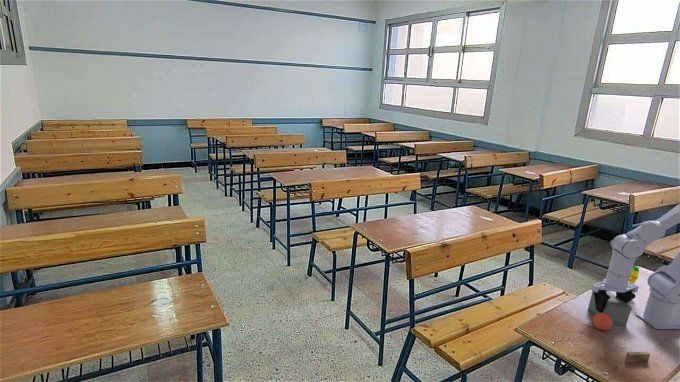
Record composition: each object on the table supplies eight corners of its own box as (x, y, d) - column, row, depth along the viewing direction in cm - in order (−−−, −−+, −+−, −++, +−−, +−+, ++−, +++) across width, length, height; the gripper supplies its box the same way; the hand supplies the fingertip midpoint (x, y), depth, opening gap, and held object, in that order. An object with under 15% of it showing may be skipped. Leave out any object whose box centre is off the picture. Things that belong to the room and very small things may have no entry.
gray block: (604, 308, 128) (609, 291, 126) (626, 325, 119) (631, 307, 117) (587, 308, 127) (592, 291, 125) (608, 325, 118) (614, 307, 117)
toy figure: (627, 302, 132) (636, 271, 129) (616, 297, 135) (624, 266, 132) (636, 297, 136) (645, 267, 132) (625, 293, 139) (634, 263, 135)
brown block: (644, 359, 104) (647, 351, 103) (647, 362, 103) (650, 354, 102) (624, 360, 103) (627, 352, 103) (627, 362, 102) (630, 354, 102)
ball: (601, 323, 119) (605, 309, 118) (614, 333, 115) (618, 319, 113) (587, 323, 119) (591, 309, 117) (599, 334, 114) (603, 319, 113)
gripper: (629, 266, 123) (618, 303, 127) (588, 266, 122) (578, 303, 126) (648, 277, 117) (636, 316, 120) (605, 277, 115) (594, 316, 119)
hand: (608, 310), depth 123 cm, fingers closed on gray block, 6 cm apart
